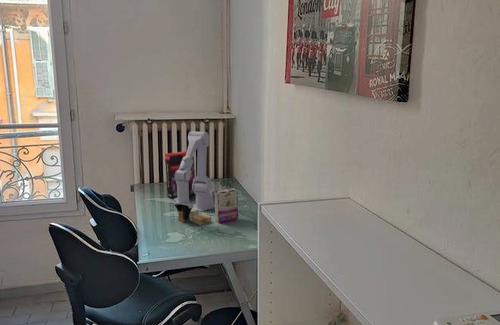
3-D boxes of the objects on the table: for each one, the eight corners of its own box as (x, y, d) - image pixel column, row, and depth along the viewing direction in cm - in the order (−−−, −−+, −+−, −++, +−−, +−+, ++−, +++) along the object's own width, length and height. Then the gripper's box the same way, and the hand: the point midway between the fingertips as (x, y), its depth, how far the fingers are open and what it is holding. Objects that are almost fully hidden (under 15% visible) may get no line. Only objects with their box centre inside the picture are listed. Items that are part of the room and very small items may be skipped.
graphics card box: (171, 199, 260) (169, 155, 254) (166, 197, 265) (164, 153, 259) (196, 194, 270) (194, 151, 265) (190, 192, 276) (188, 150, 270)
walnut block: (185, 218, 226) (184, 208, 225) (189, 220, 224) (189, 210, 222) (178, 220, 224) (178, 210, 223) (182, 222, 221) (182, 212, 220)
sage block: (192, 215, 232) (192, 208, 232) (198, 216, 230) (198, 209, 229) (187, 217, 229) (187, 210, 228) (193, 218, 227) (193, 211, 226)
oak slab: (203, 219, 227) (203, 213, 227) (211, 222, 222) (210, 216, 222) (192, 222, 223) (191, 216, 222) (199, 225, 218) (199, 219, 217)
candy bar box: (234, 217, 229) (233, 187, 225) (238, 220, 225) (238, 189, 221) (214, 220, 224) (214, 190, 220) (218, 223, 219) (217, 192, 216)
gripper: (168, 191, 223) (169, 216, 226) (184, 197, 213) (185, 223, 215) (180, 188, 228) (181, 213, 231) (196, 194, 217) (197, 220, 220)
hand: (183, 218), depth 223 cm, fingers closed on walnut block, 4 cm apart
